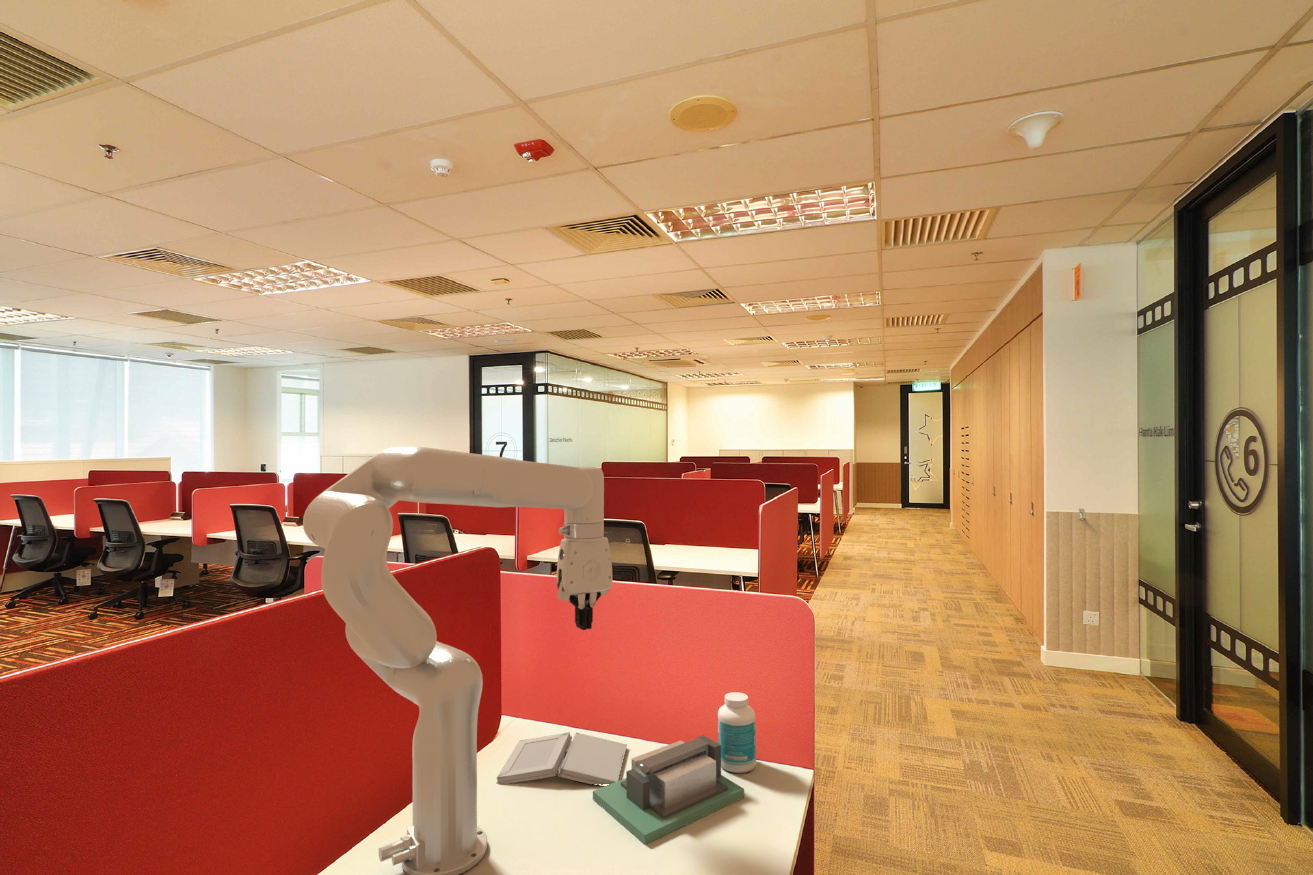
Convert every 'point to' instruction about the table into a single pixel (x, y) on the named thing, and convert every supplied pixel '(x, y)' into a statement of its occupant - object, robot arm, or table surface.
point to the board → (653, 821)
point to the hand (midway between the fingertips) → (583, 627)
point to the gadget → (582, 761)
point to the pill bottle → (737, 734)
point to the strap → (672, 755)
